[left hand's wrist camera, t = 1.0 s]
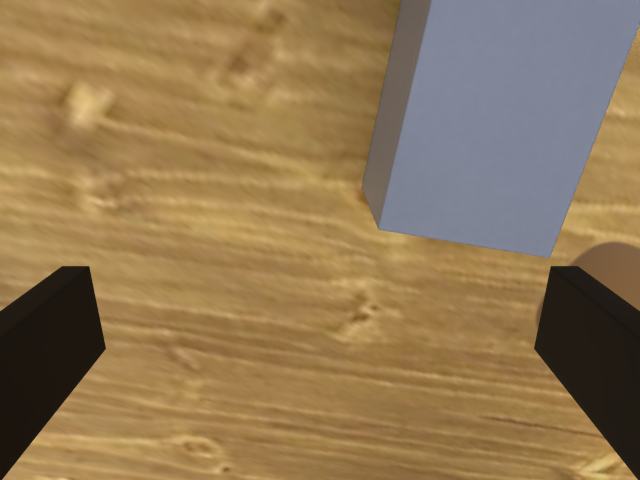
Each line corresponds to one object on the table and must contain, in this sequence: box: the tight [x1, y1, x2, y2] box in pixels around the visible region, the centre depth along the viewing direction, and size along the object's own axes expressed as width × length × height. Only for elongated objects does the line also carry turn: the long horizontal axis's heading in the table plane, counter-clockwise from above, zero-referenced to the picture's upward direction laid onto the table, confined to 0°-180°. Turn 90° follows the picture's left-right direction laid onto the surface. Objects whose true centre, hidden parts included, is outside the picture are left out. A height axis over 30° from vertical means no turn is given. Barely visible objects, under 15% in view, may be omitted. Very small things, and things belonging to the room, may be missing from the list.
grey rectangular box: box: [362, 0, 640, 258], centre depth 26 cm, size 21×10×10 cm, turn 170°
